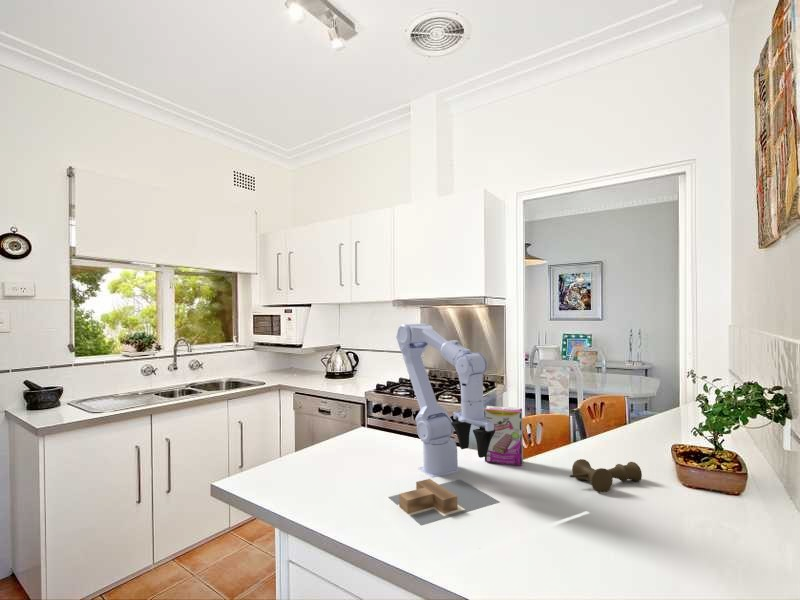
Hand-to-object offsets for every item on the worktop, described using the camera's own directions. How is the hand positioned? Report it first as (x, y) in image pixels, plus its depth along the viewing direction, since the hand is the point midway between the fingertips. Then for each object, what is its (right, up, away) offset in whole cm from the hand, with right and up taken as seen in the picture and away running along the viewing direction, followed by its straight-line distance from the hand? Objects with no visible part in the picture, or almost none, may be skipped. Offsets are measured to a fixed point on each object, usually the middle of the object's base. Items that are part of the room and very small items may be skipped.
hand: (473, 452), depth 110 cm
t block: (-13, -9, -10) cm, 19 cm away
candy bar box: (+13, -10, +19) cm, 25 cm away
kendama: (+35, -9, +2) cm, 36 cm away
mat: (-9, -9, -7) cm, 15 cm away
